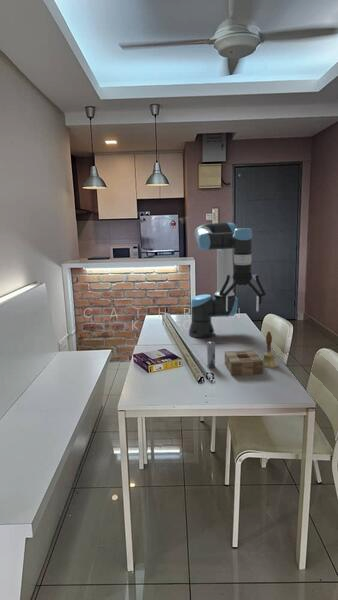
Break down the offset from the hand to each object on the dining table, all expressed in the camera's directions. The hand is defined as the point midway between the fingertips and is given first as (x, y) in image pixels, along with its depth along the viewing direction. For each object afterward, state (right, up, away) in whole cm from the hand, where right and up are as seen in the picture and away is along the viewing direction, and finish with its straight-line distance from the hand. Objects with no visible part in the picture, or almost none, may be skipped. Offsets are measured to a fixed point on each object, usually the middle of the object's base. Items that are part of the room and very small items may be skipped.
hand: (242, 310), depth 166 cm
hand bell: (+14, -26, +6) cm, 30 cm away
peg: (-13, -26, +5) cm, 30 cm away
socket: (+1, -27, +2) cm, 27 cm away
